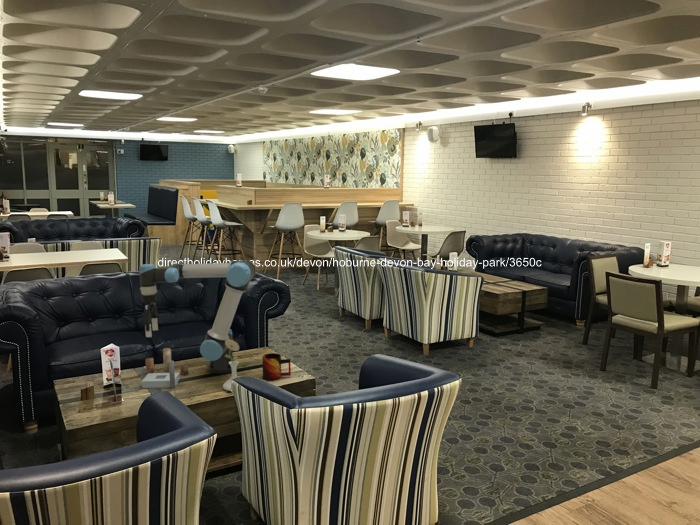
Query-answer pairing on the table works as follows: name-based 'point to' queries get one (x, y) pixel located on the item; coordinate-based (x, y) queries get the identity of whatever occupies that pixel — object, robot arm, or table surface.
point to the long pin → (166, 359)
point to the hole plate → (162, 379)
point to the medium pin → (149, 365)
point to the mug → (273, 367)
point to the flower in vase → (231, 363)
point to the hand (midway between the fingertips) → (152, 333)
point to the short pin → (184, 370)
